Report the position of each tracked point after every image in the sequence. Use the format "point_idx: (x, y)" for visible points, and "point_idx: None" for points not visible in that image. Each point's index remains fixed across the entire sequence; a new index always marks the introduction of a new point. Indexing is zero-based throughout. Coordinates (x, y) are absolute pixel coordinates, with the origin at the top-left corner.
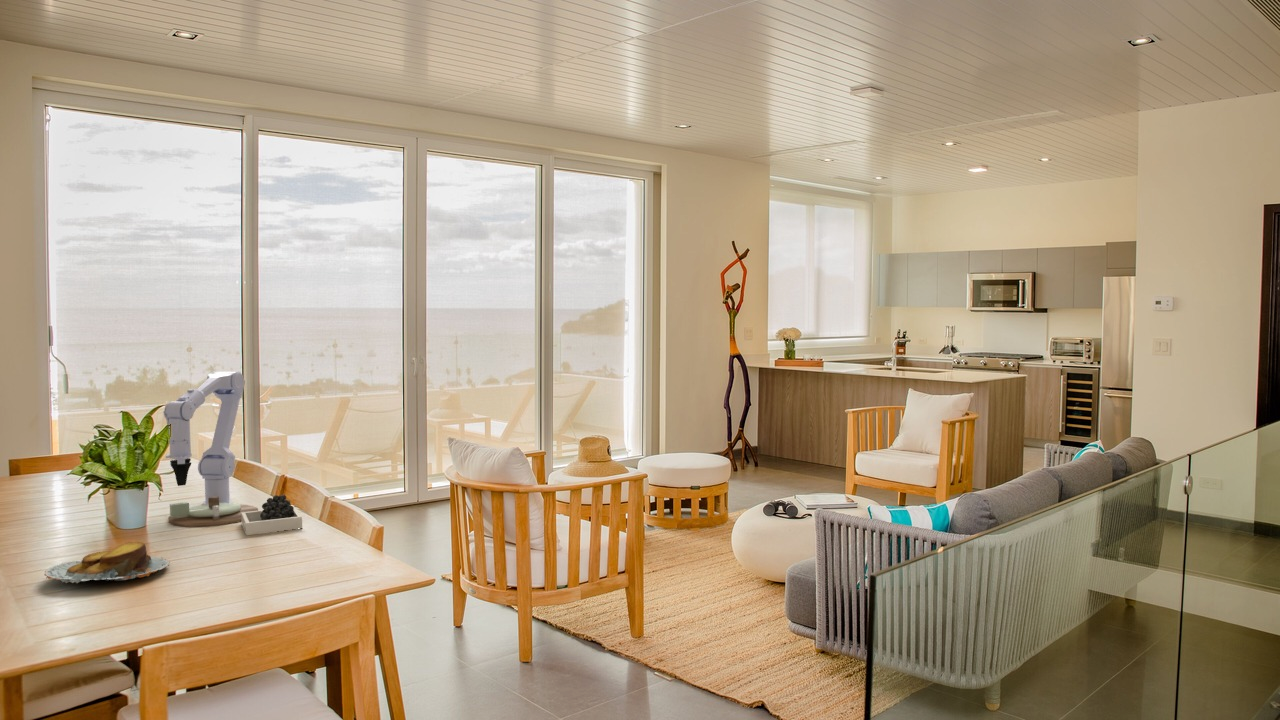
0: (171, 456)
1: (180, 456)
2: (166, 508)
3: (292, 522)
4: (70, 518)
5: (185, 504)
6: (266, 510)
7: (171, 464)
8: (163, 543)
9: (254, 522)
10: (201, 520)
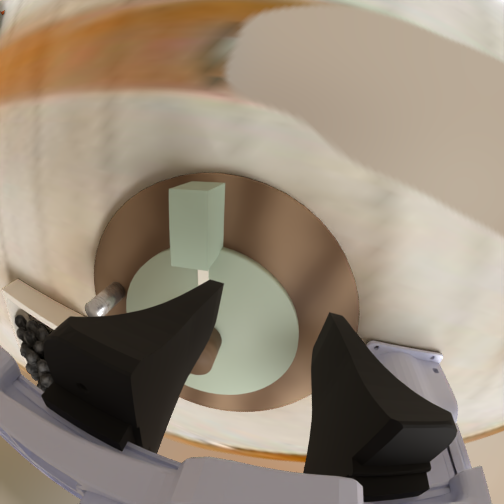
0: (91, 478)
1: (33, 460)
2: (472, 249)
3: None
4: (500, 10)
5: (171, 249)
6: (22, 345)
7: (51, 334)
8: (21, 128)
9: (5, 302)
10: (130, 257)
